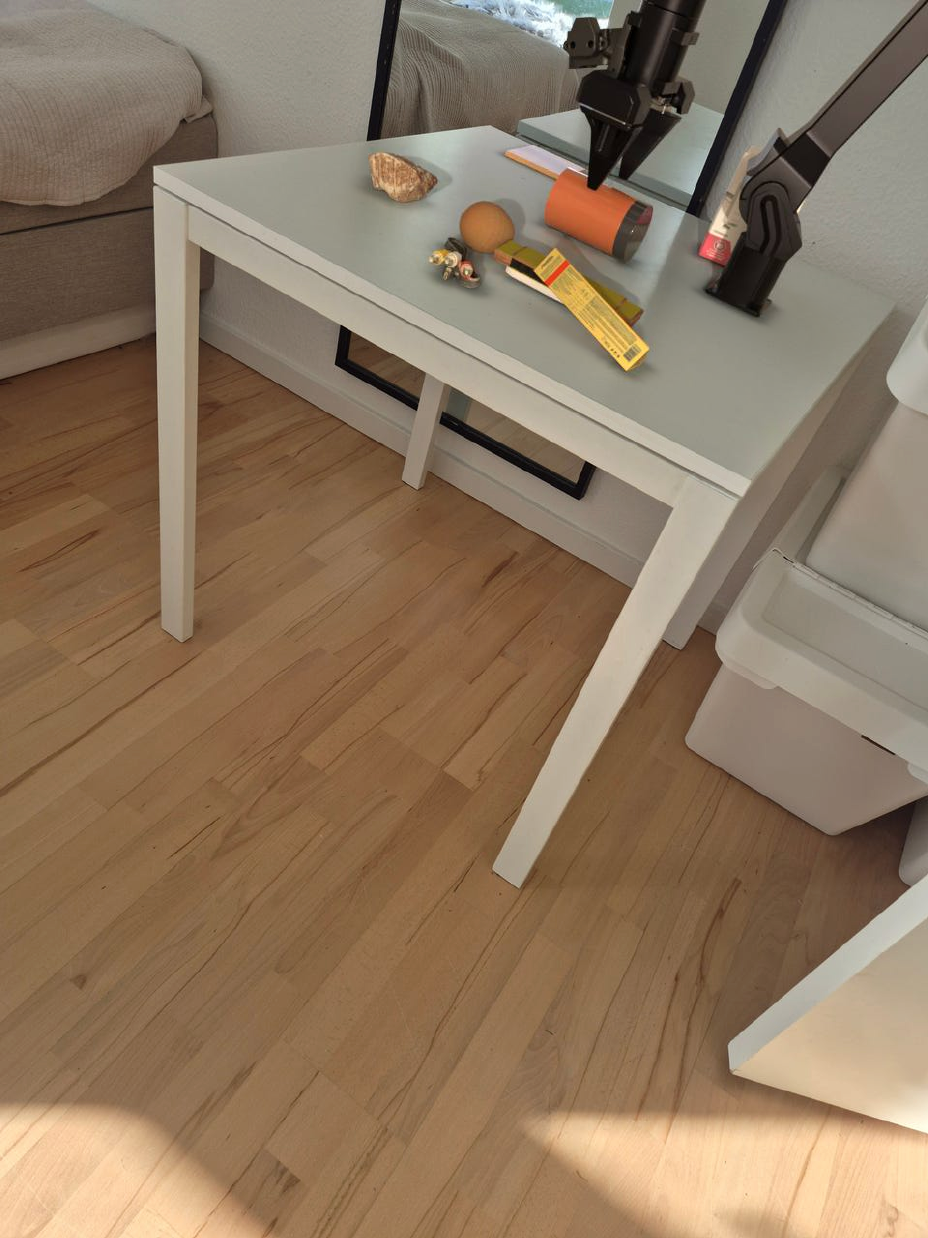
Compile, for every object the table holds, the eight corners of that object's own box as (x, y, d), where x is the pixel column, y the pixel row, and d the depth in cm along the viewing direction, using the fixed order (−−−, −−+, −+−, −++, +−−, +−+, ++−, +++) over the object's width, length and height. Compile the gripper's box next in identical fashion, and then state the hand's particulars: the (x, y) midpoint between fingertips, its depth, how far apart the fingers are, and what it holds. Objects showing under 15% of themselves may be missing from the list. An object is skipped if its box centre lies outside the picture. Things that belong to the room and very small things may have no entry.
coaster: (559, 181, 106) (561, 176, 106) (504, 155, 108) (505, 150, 108) (584, 173, 112) (585, 168, 112) (531, 149, 114) (533, 144, 114)
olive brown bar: (511, 235, 78) (505, 256, 80) (495, 245, 76) (489, 265, 78) (645, 306, 75) (637, 325, 77) (633, 318, 73) (624, 337, 75)
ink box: (696, 254, 99) (744, 148, 91) (701, 245, 103) (748, 142, 95) (763, 282, 98) (817, 178, 91) (766, 272, 102) (819, 170, 94)
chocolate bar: (650, 348, 69) (652, 353, 71) (555, 247, 70) (560, 255, 72) (626, 371, 69) (629, 376, 72) (533, 270, 71) (538, 278, 73)
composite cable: (443, 243, 79) (452, 217, 77) (490, 263, 79) (499, 238, 78) (422, 277, 72) (430, 249, 70) (473, 300, 72) (483, 272, 70)
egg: (460, 187, 77) (507, 205, 81) (443, 236, 80) (490, 250, 83) (485, 203, 75) (533, 220, 79) (467, 252, 77) (514, 267, 81)
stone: (427, 221, 87) (442, 173, 86) (422, 201, 81) (438, 149, 81) (363, 199, 87) (377, 151, 86) (353, 177, 81) (369, 126, 81)
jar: (539, 233, 91) (551, 179, 86) (564, 211, 94) (577, 158, 90) (618, 271, 89) (635, 218, 84) (641, 248, 92) (659, 196, 87)
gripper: (629, -16, 86) (576, 146, 96) (557, -27, 73) (504, 162, 83) (725, 22, 84) (660, 184, 94) (669, 18, 70) (601, 207, 81)
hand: (607, 183), depth 88 cm, fingers open, 9 cm apart
